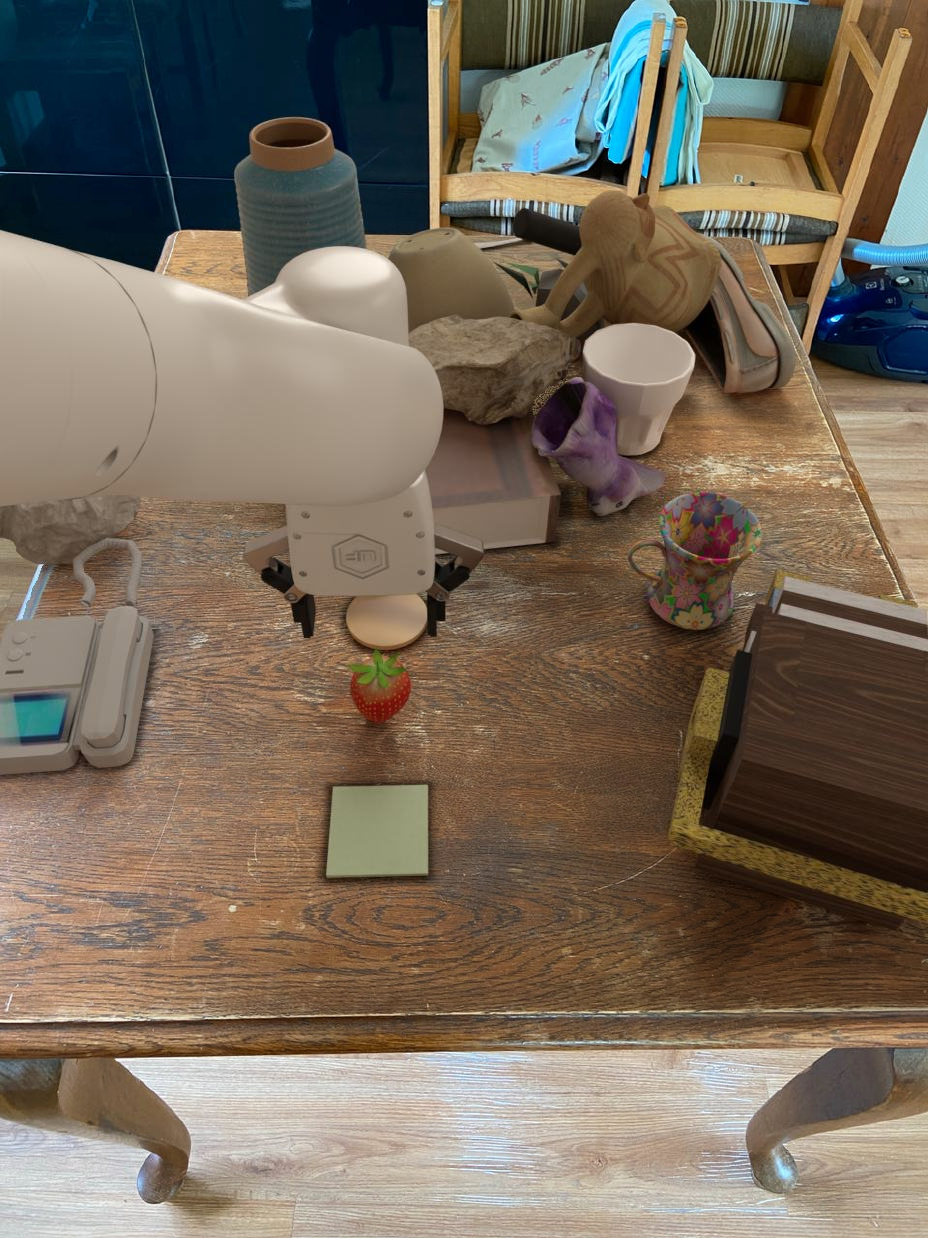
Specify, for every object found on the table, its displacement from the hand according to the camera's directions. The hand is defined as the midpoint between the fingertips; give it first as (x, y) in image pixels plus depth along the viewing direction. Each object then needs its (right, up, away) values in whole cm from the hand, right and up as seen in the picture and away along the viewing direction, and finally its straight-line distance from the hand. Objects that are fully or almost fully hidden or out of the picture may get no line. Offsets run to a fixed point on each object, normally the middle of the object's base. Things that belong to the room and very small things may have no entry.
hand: (371, 624), depth 71 cm
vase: (-12, +37, +49) cm, 62 cm away
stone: (-30, +20, +20) cm, 41 cm away
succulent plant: (+19, +43, +55) cm, 72 cm away
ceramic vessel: (+34, +44, +46) cm, 72 cm away
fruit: (0, -8, +10) cm, 13 cm away
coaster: (0, 0, +18) cm, 18 cm away
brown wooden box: (+42, +2, +11) cm, 43 cm away
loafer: (+44, +42, +47) cm, 77 cm away
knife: (+14, +57, +67) cm, 89 cm away
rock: (+1, +27, +33) cm, 43 cm away
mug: (+28, +2, +19) cm, 34 cm away
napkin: (0, -17, +3) cm, 17 cm away
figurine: (+17, +21, +22) cm, 35 cm away
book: (+3, +18, +33) cm, 37 cm away
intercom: (-30, +8, +20) cm, 37 cm away
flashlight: (+25, +54, +53) cm, 80 cm away
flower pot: (+3, +47, +39) cm, 62 cm away
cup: (+27, +22, +37) cm, 51 cm away
